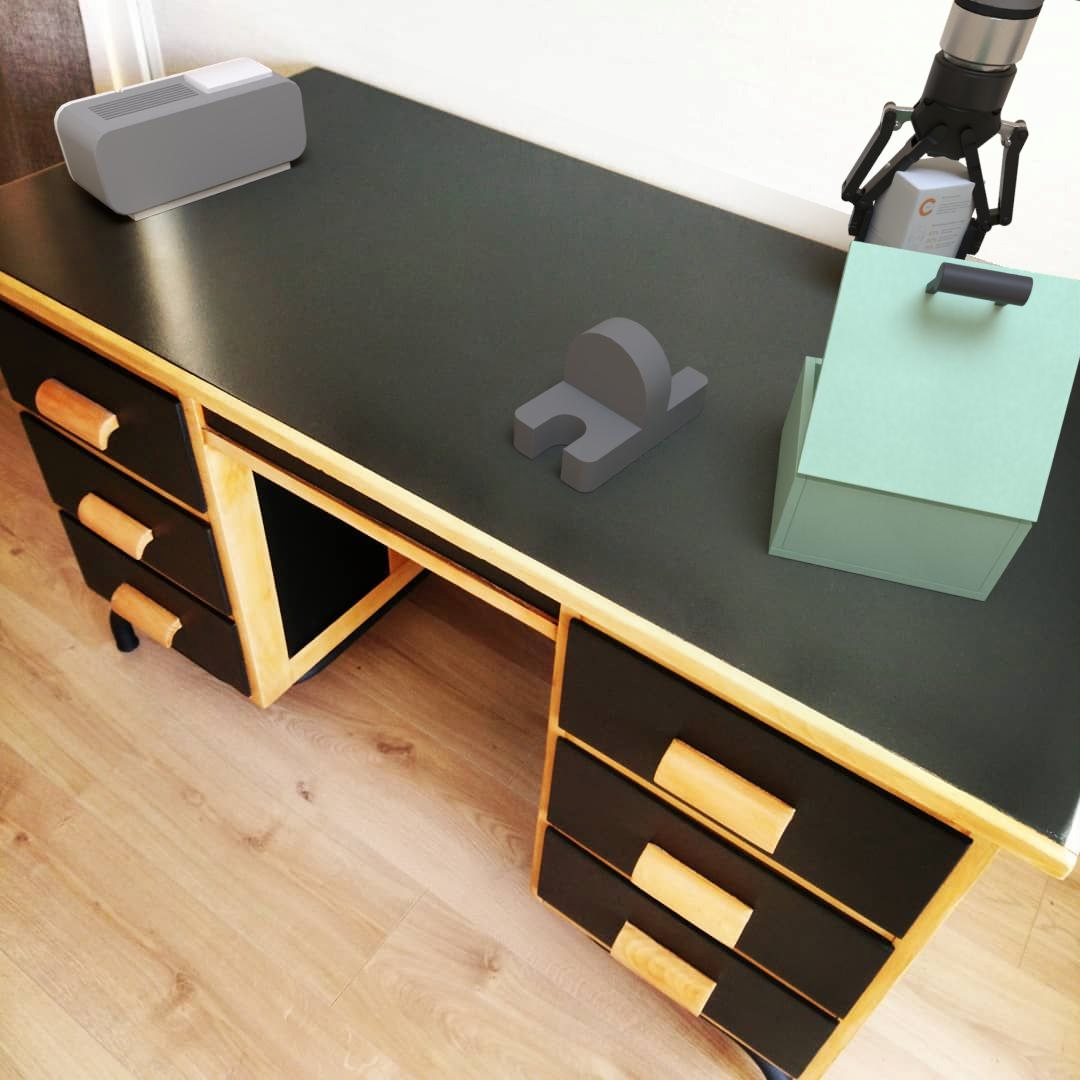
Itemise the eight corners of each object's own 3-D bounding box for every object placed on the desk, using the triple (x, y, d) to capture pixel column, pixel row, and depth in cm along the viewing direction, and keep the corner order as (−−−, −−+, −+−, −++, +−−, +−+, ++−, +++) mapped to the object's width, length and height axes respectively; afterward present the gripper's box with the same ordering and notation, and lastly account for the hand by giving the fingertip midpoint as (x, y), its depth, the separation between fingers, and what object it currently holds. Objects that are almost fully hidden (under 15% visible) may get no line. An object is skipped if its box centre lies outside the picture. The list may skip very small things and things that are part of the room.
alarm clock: (269, 139, 127) (255, 46, 118) (310, 164, 123) (299, 68, 114) (77, 200, 113) (45, 99, 104) (116, 230, 109) (86, 127, 100)
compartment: (781, 431, 90) (806, 355, 84) (970, 469, 88) (1010, 394, 82) (767, 554, 79) (794, 477, 73) (984, 601, 77) (1032, 526, 70)
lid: (849, 242, 71) (865, 222, 65) (1094, 285, 69) (1132, 268, 63) (795, 473, 73) (805, 472, 67) (1032, 522, 70) (1064, 525, 65)
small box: (909, 265, 108) (950, 153, 99) (942, 294, 104) (988, 180, 94) (849, 274, 106) (885, 161, 96) (880, 304, 102) (921, 189, 92)
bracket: (507, 443, 87) (512, 346, 79) (631, 365, 96) (645, 272, 88) (585, 496, 83) (597, 399, 75) (706, 409, 92) (728, 314, 84)
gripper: (1097, 59, 89) (1003, 270, 105) (856, 27, 92) (800, 237, 108) (1111, 88, 84) (1009, 305, 100) (855, 53, 87) (796, 270, 103)
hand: (900, 270), depth 104 cm, fingers closed on small box, 10 cm apart
